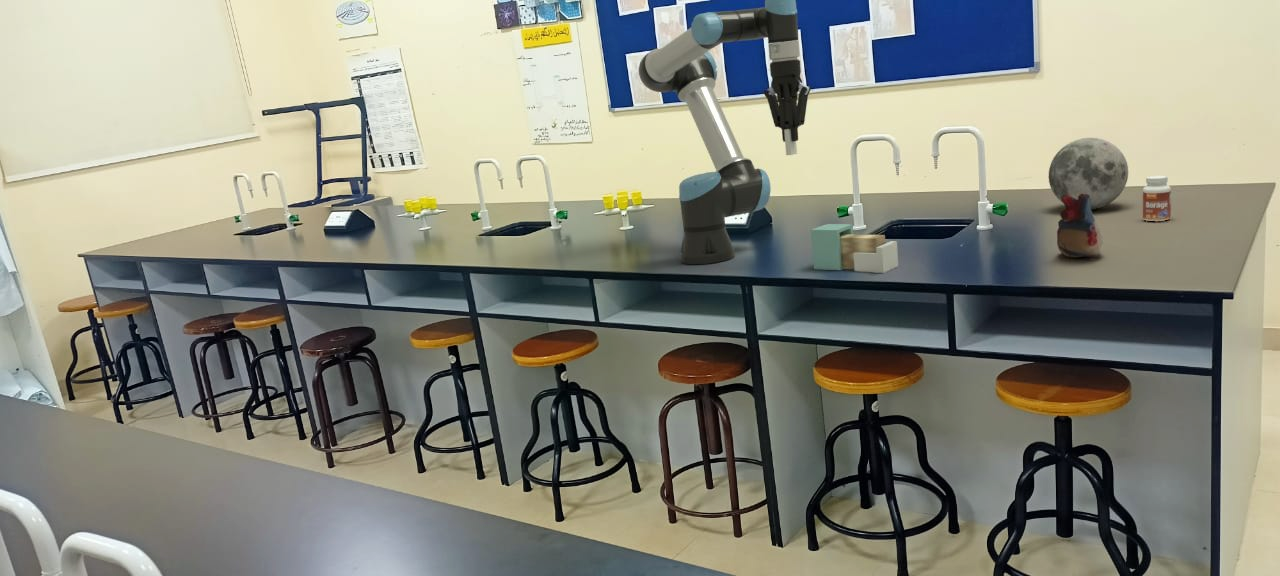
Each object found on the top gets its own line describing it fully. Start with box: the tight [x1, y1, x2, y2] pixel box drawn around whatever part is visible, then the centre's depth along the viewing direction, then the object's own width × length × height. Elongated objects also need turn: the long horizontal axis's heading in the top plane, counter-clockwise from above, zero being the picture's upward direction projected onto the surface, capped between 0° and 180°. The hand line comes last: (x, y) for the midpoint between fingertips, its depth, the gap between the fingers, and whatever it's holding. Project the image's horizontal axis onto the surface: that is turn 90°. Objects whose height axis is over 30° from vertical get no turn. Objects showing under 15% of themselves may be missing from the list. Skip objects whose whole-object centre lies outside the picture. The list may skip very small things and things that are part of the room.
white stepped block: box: [853, 240, 899, 274], centre depth 217 cm, size 8×7×6 cm
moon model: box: [1048, 137, 1129, 210], centre depth 256 cm, size 20×20×20 cm
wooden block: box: [840, 233, 886, 270], centre depth 221 cm, size 14×4×8 cm, turn 47°
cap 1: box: [810, 223, 854, 271], centre depth 225 cm, size 7×7×10 cm
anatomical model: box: [1056, 194, 1104, 258], centre depth 203 cm, size 9×13×15 cm
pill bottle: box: [1142, 175, 1172, 220], centre depth 231 cm, size 6×6×11 cm
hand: (791, 154), depth 234 cm, fingers closed
